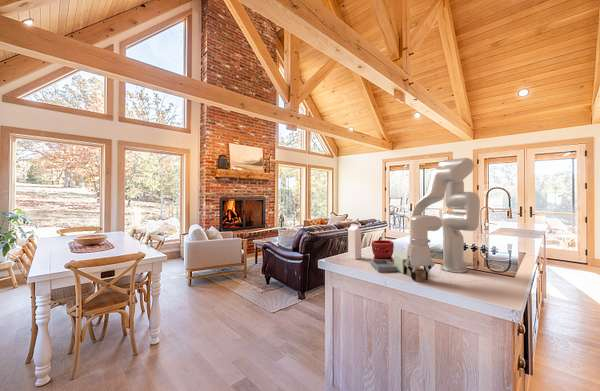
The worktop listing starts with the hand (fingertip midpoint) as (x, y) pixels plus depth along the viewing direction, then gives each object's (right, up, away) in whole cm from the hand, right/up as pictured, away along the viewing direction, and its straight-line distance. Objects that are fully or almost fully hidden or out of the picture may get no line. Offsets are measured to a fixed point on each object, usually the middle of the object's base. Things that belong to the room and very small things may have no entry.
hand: (419, 279), depth 126 cm
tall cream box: (0, 0, +16) cm, 16 cm away
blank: (0, 0, +4) cm, 4 cm away
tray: (-11, 0, +21) cm, 23 cm away
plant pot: (-6, 0, +37) cm, 37 cm away
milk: (-22, 0, +44) cm, 49 cm away
